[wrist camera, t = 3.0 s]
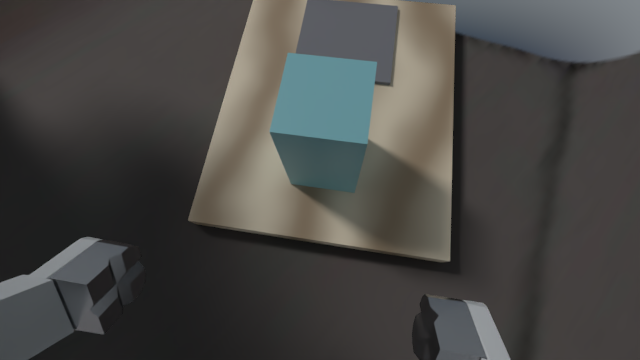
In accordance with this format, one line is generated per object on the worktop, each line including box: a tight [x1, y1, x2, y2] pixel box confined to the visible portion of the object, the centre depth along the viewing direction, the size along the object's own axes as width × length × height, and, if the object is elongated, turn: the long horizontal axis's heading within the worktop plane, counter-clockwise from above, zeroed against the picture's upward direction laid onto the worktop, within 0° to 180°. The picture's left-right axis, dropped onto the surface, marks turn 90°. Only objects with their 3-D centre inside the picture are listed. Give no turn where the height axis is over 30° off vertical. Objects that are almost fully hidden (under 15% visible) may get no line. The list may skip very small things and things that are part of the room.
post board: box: [188, 0, 456, 263], centre depth 22 cm, size 18×22×6 cm
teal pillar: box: [269, 53, 377, 193], centre depth 18 cm, size 5×5×8 cm
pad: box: [296, 0, 398, 85], centre depth 25 cm, size 8×8×1 cm
